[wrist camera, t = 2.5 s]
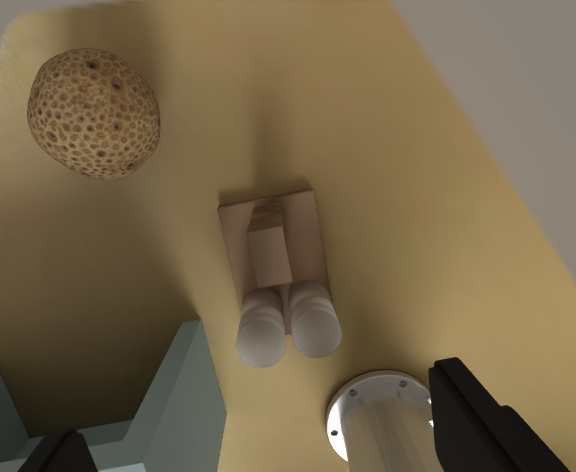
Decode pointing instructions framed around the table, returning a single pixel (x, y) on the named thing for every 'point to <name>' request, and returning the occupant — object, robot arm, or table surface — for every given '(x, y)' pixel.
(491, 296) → the table surface
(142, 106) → the natural sponge
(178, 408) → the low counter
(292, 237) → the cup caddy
